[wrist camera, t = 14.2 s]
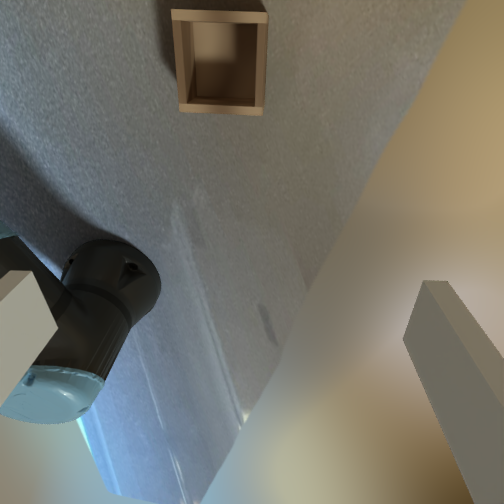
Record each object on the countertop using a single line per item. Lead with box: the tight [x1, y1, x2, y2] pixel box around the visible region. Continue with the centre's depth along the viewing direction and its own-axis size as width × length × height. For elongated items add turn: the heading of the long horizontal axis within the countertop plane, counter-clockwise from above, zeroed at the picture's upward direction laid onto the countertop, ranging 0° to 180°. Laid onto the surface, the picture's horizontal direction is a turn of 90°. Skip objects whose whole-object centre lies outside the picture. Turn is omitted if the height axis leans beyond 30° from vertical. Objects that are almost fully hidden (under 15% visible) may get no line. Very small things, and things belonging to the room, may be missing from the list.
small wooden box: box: [171, 9, 269, 116], centre depth 34 cm, size 9×9×6 cm
